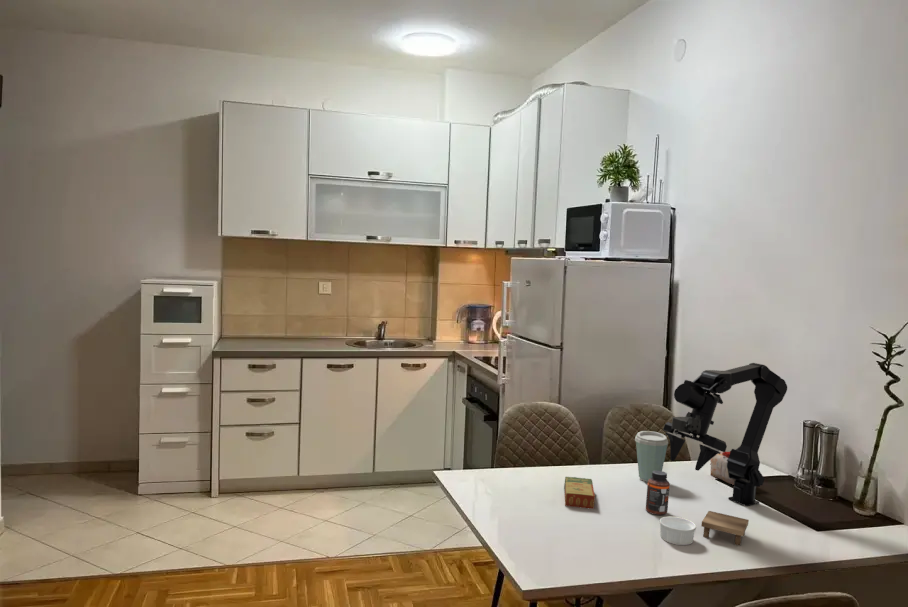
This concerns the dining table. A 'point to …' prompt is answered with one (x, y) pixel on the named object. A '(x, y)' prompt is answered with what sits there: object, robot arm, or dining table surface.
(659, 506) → the supplement bottle
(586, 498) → the carton
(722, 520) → the stool
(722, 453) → the food item
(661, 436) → the disposable coffee cup
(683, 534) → the ramekin
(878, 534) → the dining table surface
